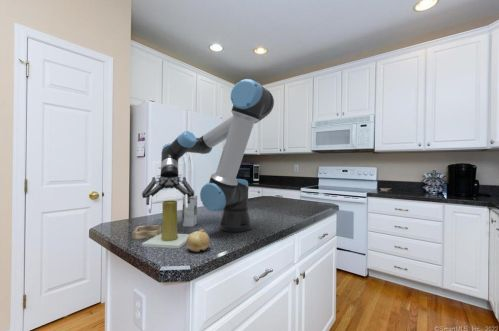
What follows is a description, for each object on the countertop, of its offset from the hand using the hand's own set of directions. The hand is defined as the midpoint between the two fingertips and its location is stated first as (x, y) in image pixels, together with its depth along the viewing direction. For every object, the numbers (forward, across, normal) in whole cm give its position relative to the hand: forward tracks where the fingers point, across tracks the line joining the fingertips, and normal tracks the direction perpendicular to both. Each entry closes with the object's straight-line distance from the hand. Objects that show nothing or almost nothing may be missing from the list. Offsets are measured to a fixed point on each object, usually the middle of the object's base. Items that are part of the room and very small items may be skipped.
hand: (168, 210), depth 92 cm
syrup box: (-7, -10, -24) cm, 26 cm away
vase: (+9, 0, -6) cm, 11 cm away
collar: (+1, +8, -15) cm, 17 cm away
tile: (+10, 0, -7) cm, 12 cm away
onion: (+18, -10, +2) cm, 21 cm away
